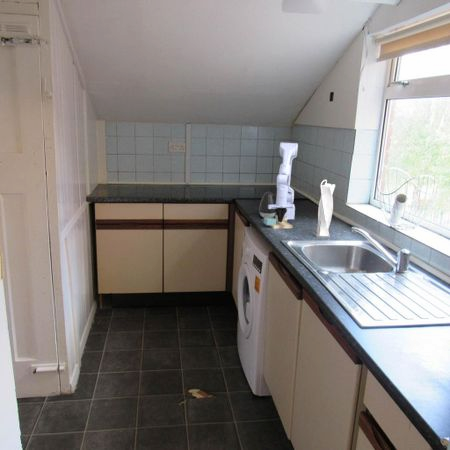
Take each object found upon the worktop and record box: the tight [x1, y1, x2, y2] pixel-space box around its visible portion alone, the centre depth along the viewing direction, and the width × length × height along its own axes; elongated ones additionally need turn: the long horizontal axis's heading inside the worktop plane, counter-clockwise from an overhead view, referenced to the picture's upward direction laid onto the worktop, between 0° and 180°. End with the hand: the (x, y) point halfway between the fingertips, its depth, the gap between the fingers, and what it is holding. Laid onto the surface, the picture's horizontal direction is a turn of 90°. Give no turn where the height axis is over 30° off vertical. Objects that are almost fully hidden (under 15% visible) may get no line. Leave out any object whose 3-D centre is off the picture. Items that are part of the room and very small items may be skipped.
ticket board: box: [267, 214, 293, 230], centre depth 238 cm, size 11×13×5 cm
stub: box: [263, 217, 276, 226], centre depth 234 cm, size 5×5×3 cm
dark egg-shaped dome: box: [258, 191, 277, 219], centre depth 255 cm, size 10×10×15 cm
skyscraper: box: [312, 179, 336, 239], centre depth 218 cm, size 8×8×28 cm
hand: (280, 221), depth 235 cm, fingers closed
